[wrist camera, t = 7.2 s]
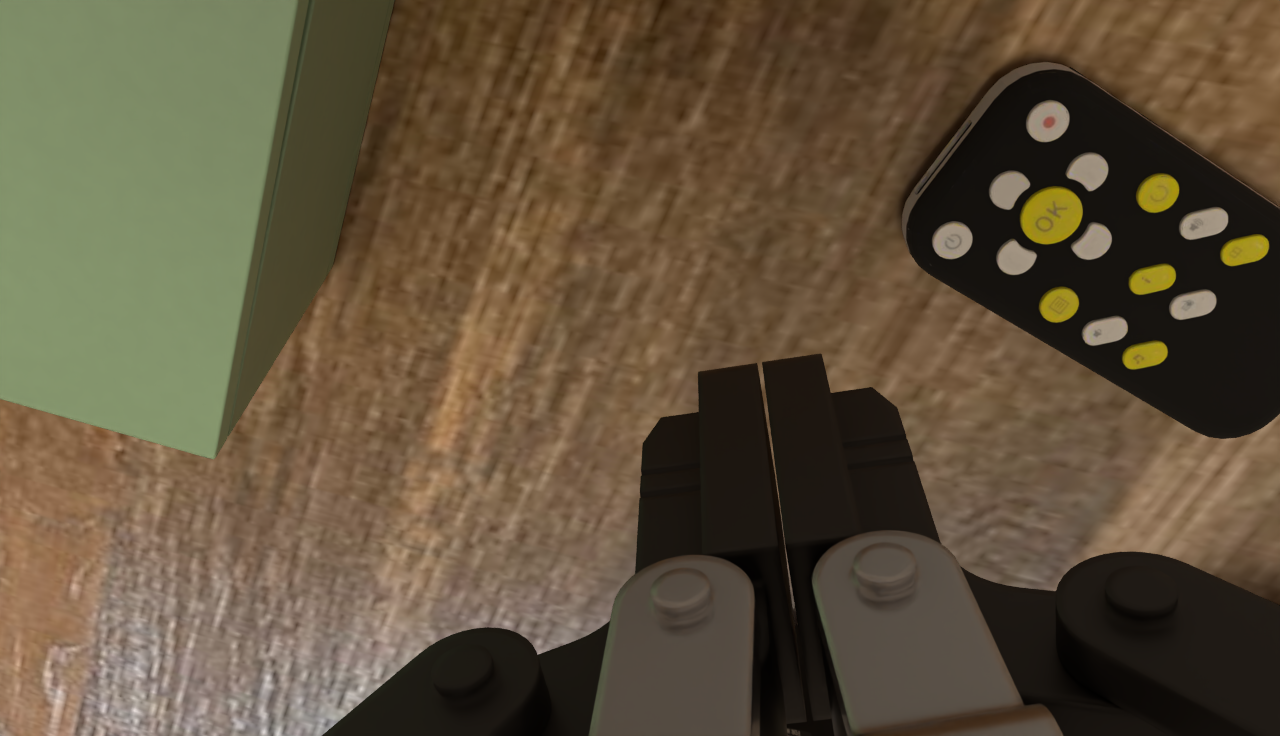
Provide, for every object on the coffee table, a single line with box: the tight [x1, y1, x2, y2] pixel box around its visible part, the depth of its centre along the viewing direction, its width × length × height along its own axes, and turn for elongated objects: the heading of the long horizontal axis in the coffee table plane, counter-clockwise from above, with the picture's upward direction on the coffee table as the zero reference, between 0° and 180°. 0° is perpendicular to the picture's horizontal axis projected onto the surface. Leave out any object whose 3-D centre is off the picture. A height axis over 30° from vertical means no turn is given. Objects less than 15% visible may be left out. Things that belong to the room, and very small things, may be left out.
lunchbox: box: [227, 0, 395, 436], centre depth 24 cm, size 13×9×9 cm
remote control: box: [902, 62, 1280, 439], centre depth 30 cm, size 6×13×2 cm, turn 59°
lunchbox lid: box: [0, 0, 309, 459], centre depth 20 cm, size 13×9×1 cm, turn 161°
